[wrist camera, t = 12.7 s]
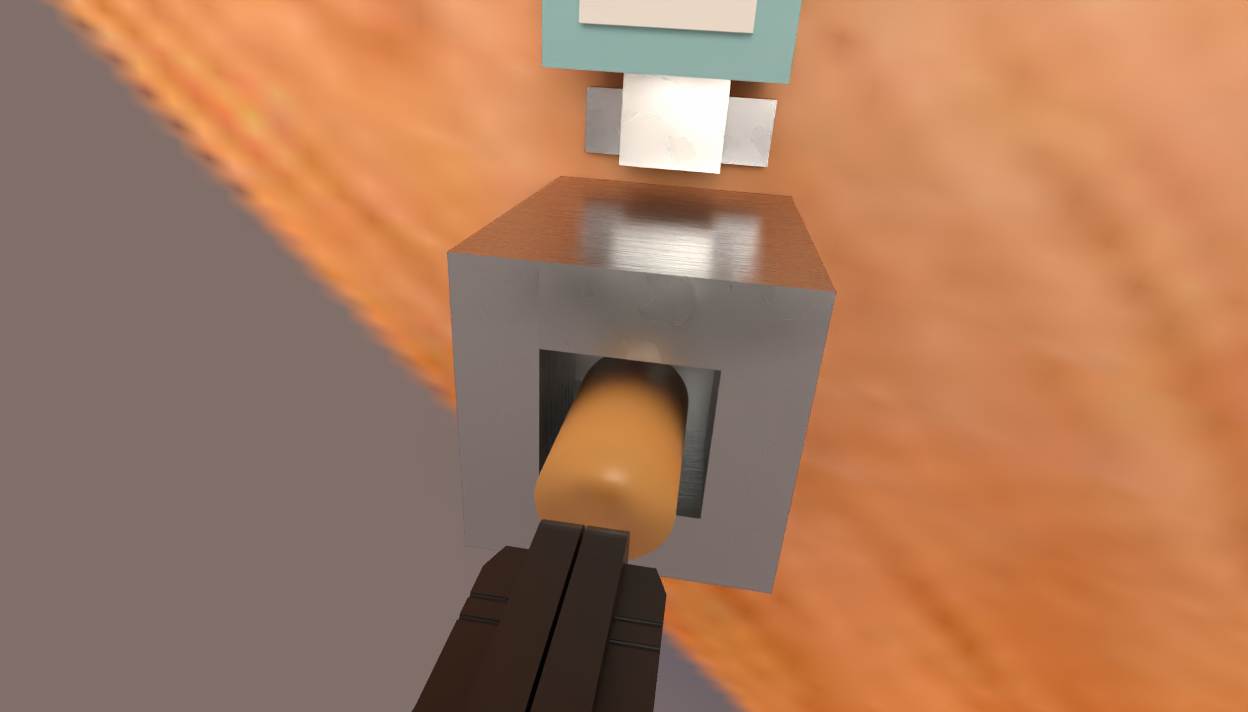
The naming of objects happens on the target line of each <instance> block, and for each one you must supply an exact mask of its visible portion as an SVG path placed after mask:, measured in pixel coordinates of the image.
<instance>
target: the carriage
mask: <svg viewBox="0 0 1248 712" xmlns="http://www.w3.org/2000/svg"><path fill="white" fill-rule="evenodd" d="M801 3H802V0H542V67H548V68H563V69H577V70H592V71H606V72H621V73H636V74H650V75H665V76H680V77H694V78H709V79H724V80H738V81H753V82H768V83H782V84H789V79H790V73H791V67H792V60H793V54H794V48H795V41H796V35H797V28H798V22H799V16H800V9H801Z"/></svg>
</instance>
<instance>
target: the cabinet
mask: <svg viewBox="0 0 1248 712" xmlns="http://www.w3.org/2000/svg"><path fill="white" fill-rule="evenodd" d="M447 259H448V275H449V291H450V307H451V323H452V339H453V355H454V371H455V387H456V403H457V419H458V435H459V450H460V466H461V483H462V498H463V513H464V514H463V515H464V528H465V529H464V531H465V544H466V545H465V546H470V547H477V548H484V549H489V550H496V551H500V550H502V549H503V548H504V547H505V546H512V547H519V548H525V549H529V547H530V545H531V543H532V540H533V538H534V535H535V533H536V530H537V528H538V525H539V523H540V522H541V520H540V518H539V515H538V513H537V510H536V505H535V497H534V495H535V486H536V482H537V479H538V477H539V475H540V472H541V470H542V468H543V466H544V464H545V462H546V459H547V457H548V455H549V453H550V451H551V449H552V446H553V444H554V442H555V440H556V438H557V436H558V433H559V431H560V429H561V427H562V425H563V423H564V420H565V418H566V416H567V414H568V412H569V410H570V407H571V405H572V403H573V401H574V399H575V397H576V394H577V392H578V390H579V388H580V386H581V384H582V381H583V379H584V377H585V375H586V374H587V372H588V370H589V369H590V368H591V367H592V366H593V365H594V364H595V363H596V362H597V361H598V360H600V359H602V358H603V357H611V358H619V359H628V360H636V361H644V362H653V363H661V364H670V365H671V366H672V367H673V368H674V369H675V370H676V371H677V372H678V374H679V375H680V376H681V378H682V380H683V381H684V383H685V386H686V388H687V392H688V398H689V407H688V416H687V424H686V433H685V441H684V450H683V458H682V467H681V475H680V484H679V492H678V500H677V509H676V517H675V522H674V525H673V528H672V530H671V532H670V534H669V536H668V537H667V538H666V540H665V541H664V542H663V543H662V544H661V545H660V546H659V547H658V548H657V549H655V550H654V551H652V552H651V553H649V554H647V555H645V556H642V557H639V558H636V559H632V560H628V564H631V565H638V566H644V567H651V568H656V569H657V571H658V574H659V576H662V577H668V578H675V579H681V580H687V581H694V582H700V583H706V584H713V585H719V586H726V587H732V588H738V589H745V590H751V591H758V592H764V593H770V594H771V593H772V589H773V584H774V579H775V575H776V570H777V565H778V561H779V556H780V552H781V547H782V542H783V538H784V533H785V528H786V524H787V519H788V514H789V510H790V505H791V500H792V496H793V491H794V486H795V482H796V477H797V472H798V468H799V463H800V458H801V454H802V449H803V445H804V440H805V435H806V431H807V426H808V421H809V417H810V412H811V407H812V403H813V398H814V393H815V389H816V384H817V379H818V375H819V370H820V365H821V361H822V356H823V351H824V347H825V342H826V337H827V333H828V328H829V324H830V319H831V314H832V310H833V305H834V300H835V296H836V290H835V288H834V286H833V284H832V282H831V280H830V278H829V276H828V273H827V271H826V269H825V267H824V265H823V263H822V261H821V259H820V257H819V254H818V252H817V250H816V248H815V246H814V244H813V242H812V240H811V237H810V235H809V233H808V231H807V229H806V227H805V225H804V223H803V221H802V218H801V216H800V214H799V212H798V210H797V208H796V206H795V204H794V201H793V199H792V197H791V196H780V195H769V194H757V193H746V192H734V191H723V190H712V189H700V188H689V187H677V186H666V185H655V184H643V183H632V182H620V181H609V180H598V179H586V178H575V177H563V176H561V177H559V178H557V179H556V180H554V181H553V182H551V183H550V184H548V185H547V186H545V187H544V188H542V189H541V190H539V191H538V192H536V193H535V194H533V195H532V196H530V197H529V198H527V199H526V200H524V201H523V202H521V203H520V204H518V205H517V206H515V207H514V208H512V209H511V210H509V211H508V212H506V213H505V214H503V215H502V216H500V217H499V218H497V219H496V220H494V221H493V222H491V223H490V224H488V225H487V226H485V227H484V228H482V229H481V230H479V231H478V232H476V233H475V234H473V235H472V236H470V237H469V238H467V239H466V240H464V241H463V242H461V243H460V244H458V245H457V246H455V247H454V248H452V249H451V250H449V251H448V252H447Z"/></svg>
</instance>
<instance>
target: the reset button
mask: <svg viewBox="0 0 1248 712" xmlns="http://www.w3.org/2000/svg"><path fill="white" fill-rule="evenodd" d="M688 407H689V398H688V392H687V388H686V386H685V383H684V381H683V380H682V378H681V376H680V375H679V374H678V372H677V371H676V370H675V369H674V368H673V367H672V366H671V365H670V364H661V363H653V362H644V361H636V360H628V359H619V358H611V357H603V358H602V359H600V360H598V361H597V362H596V363H595V364H594V365H593V366H592V367H591V368H590V369H589V370H588V372H587V374H586V375H585V377H584V379H583V381H582V384H581V386H580V388H579V390H578V392H577V394H576V397H575V399H574V401H573V403H572V405H571V407H570V410H569V412H568V414H567V416H566V418H565V420H564V423H563V425H562V427H561V429H560V431H559V433H558V436H557V438H556V440H555V442H554V444H553V446H552V449H551V451H550V453H549V455H548V457H547V459H546V462H545V464H544V466H543V468H542V470H541V472H540V475H539V477H538V479H537V482H536V486H535V495H534V497H535V505H536V510H537V513H538V515H539V518H540V520H542V519H547V520H554V521H560V522H567V523H574V524H581V525H585V529H586V527H587V526H588V525H589V526H596V527H602V528H609V529H616V530H623V531H630V543H629V555H628V560H632V559H636V558H639V557H642V556H645V555H647V554H649V553H651V552H652V551H654V550H655V549H657V548H658V547H659V546H660V545H661V544H662V543H663V542H664V541H665V540H666V538H667V537H668V536H669V534H670V532H671V530H672V528H673V525H674V522H675V517H676V509H677V500H678V492H679V484H680V475H681V467H682V458H683V450H684V441H685V433H686V424H687V416H688Z"/></svg>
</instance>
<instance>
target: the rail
mask: <svg viewBox="0 0 1248 712" xmlns="http://www.w3.org/2000/svg"><path fill="white" fill-rule="evenodd" d="M730 84H731V80H724V79H709V78H694V77H680V76H665V75H650V74H636V73H624V81H623V88H613V87H598V86H589V87H587V100H586V132H585V152H592V153H604V154H616V155H619V165H623V166H635V167H647V168H659V169H670V170H682V171H694V172H706V173H718V174H720V166H721V163H724V164H737V165H749V166H761V167H767V165H768V158H769V152H770V145H771V139H772V132H773V125H774V119H775V112H776V106H777V100H776V99H767V98H753V97H739V96H729V92H730Z"/></svg>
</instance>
